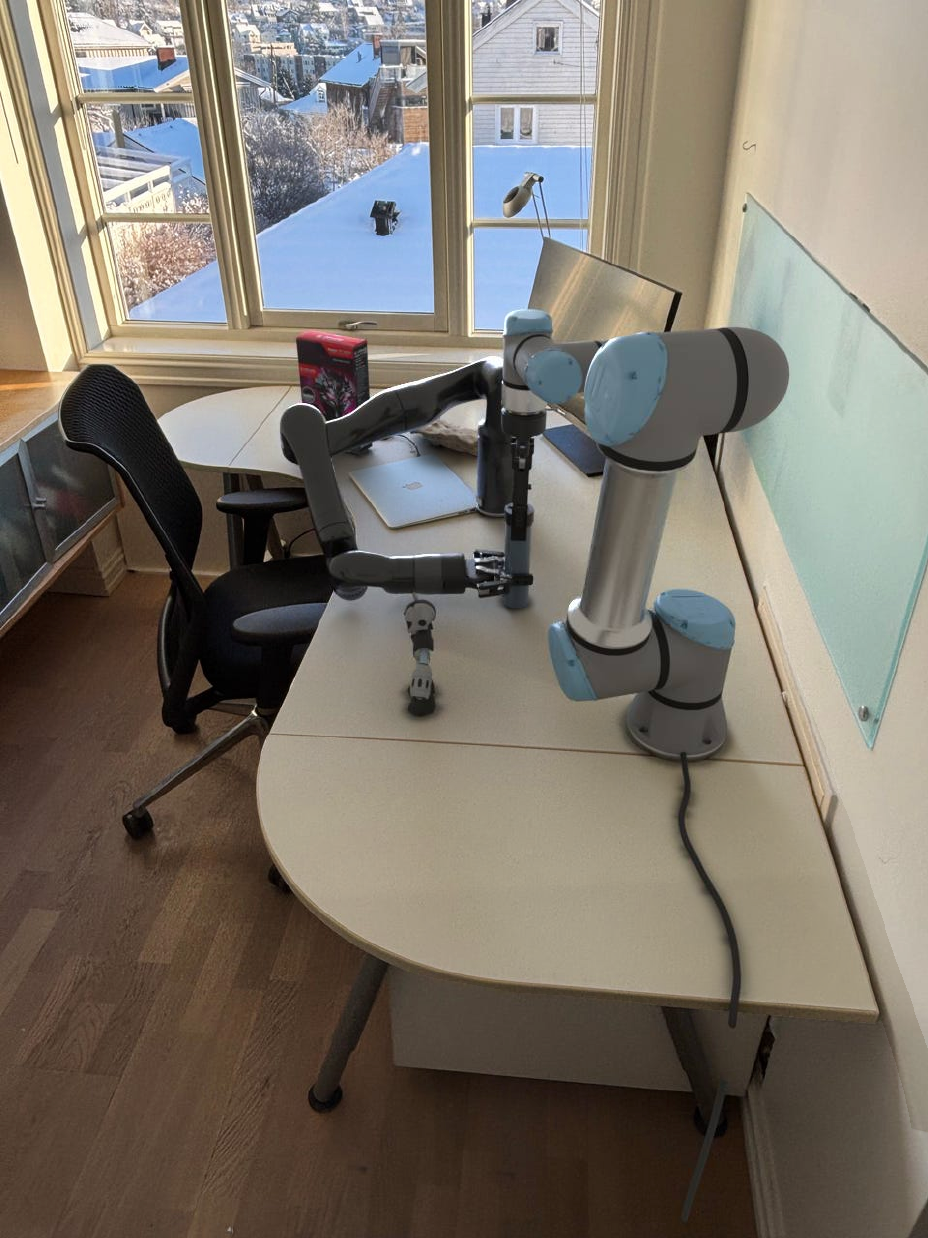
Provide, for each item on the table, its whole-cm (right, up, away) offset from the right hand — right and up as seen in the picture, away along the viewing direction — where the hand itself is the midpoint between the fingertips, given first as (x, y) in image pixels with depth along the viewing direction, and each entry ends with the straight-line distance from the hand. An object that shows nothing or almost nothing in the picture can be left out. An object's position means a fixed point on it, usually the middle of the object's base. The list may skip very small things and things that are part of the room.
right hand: (518, 531), depth 165 cm
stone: (-14, +29, +69) cm, 76 cm away
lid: (0, +4, -2) cm, 4 cm away
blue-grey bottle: (0, -12, +8) cm, 15 cm away
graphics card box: (-41, +28, +68) cm, 85 cm away
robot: (-17, -29, -17) cm, 37 cm away
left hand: (+3, -7, +5) cm, 9 cm away
